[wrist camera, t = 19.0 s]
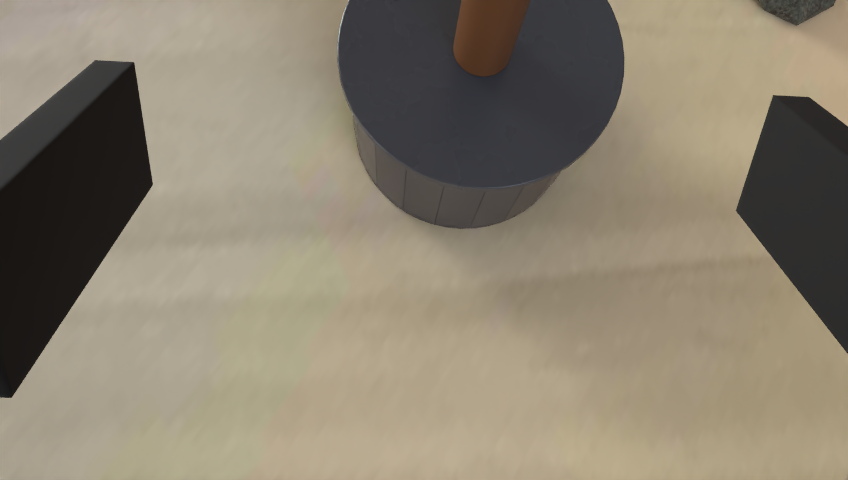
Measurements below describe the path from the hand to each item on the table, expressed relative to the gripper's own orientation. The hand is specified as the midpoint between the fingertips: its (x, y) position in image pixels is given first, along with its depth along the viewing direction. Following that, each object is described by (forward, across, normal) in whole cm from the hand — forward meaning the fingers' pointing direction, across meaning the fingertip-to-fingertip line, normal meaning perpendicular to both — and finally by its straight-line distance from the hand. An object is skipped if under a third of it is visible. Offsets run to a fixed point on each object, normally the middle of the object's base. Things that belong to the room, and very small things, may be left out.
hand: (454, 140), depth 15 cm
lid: (+21, +3, -4) cm, 21 cm away
